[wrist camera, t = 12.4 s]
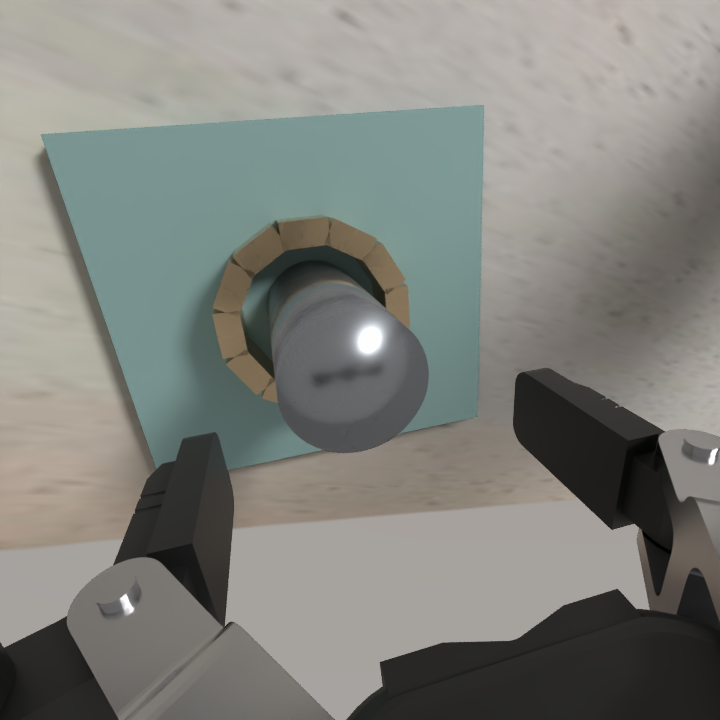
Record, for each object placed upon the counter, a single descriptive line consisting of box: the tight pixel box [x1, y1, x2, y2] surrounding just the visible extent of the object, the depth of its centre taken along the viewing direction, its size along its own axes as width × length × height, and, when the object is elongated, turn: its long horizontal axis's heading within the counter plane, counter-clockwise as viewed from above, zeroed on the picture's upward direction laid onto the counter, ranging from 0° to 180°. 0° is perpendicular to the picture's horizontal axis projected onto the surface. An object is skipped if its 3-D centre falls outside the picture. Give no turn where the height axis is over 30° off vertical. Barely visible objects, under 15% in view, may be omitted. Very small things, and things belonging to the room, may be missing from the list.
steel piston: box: [267, 260, 429, 453], centre depth 18 cm, size 5×5×10 cm
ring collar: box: [212, 215, 410, 403], centre depth 21 cm, size 9×9×2 cm
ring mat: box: [41, 105, 484, 470], centre depth 23 cm, size 20×18×1 cm
